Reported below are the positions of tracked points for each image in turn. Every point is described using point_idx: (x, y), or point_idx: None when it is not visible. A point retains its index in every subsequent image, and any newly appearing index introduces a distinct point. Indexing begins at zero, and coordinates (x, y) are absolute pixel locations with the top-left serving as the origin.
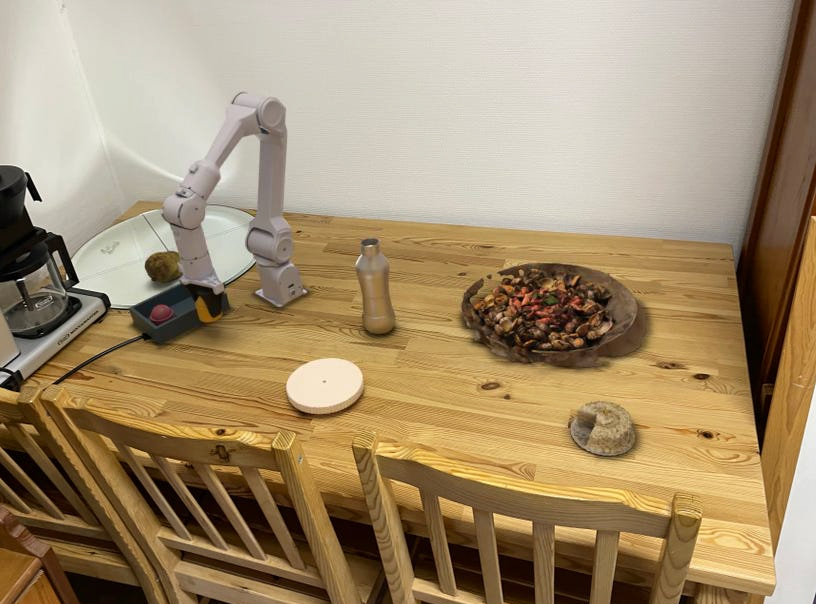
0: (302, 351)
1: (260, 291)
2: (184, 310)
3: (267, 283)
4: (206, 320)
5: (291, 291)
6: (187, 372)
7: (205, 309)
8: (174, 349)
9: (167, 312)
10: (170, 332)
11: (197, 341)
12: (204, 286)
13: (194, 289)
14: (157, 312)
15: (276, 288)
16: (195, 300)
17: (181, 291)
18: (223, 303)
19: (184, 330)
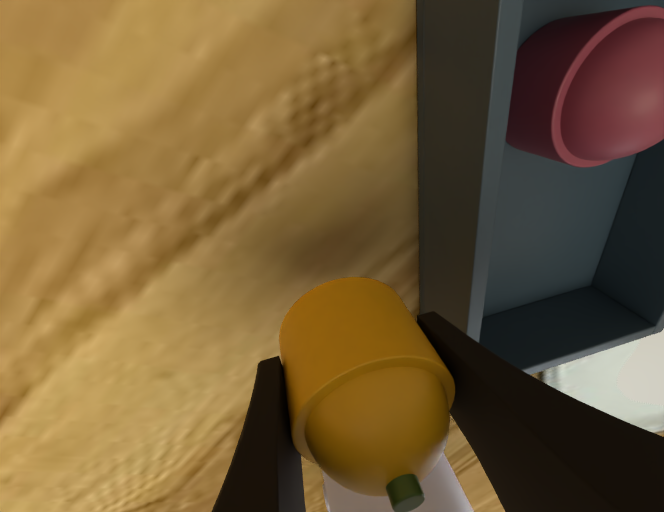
0: (23, 468)
1: None
2: (557, 207)
3: None
4: (296, 311)
5: (327, 505)
6: (39, 20)
7: (299, 390)
8: (341, 51)
9: (588, 131)
10: (445, 79)
11: (326, 183)
12: (496, 483)
13: (520, 456)
14: (649, 65)
15: (348, 506)
16: (457, 357)
17: (652, 244)
18: None
19: (428, 160)
